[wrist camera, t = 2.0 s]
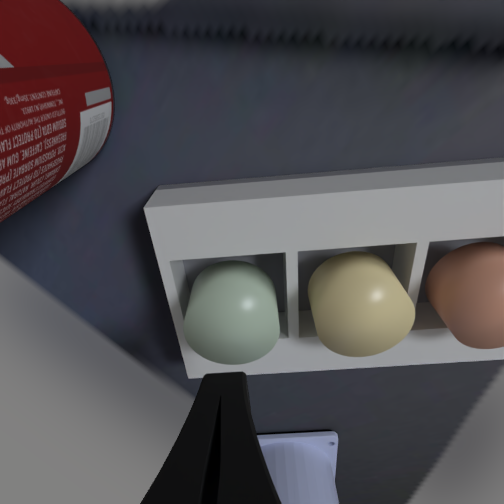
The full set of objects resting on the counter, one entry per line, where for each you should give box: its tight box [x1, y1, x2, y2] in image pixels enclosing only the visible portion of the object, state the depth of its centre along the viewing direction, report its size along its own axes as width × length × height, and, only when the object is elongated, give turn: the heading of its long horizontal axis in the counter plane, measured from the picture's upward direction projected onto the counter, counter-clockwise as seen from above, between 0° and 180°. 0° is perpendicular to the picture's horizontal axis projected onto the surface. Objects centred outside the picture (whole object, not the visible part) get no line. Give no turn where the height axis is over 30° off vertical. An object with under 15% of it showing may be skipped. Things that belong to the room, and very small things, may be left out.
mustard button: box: [308, 251, 415, 357], centre depth 15 cm, size 4×4×2 cm
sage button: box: [183, 260, 280, 365], centre depth 15 cm, size 4×4×2 cm
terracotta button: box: [425, 242, 504, 349], centre depth 15 cm, size 4×4×2 cm
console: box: [144, 157, 504, 378], centre depth 17 cm, size 10×17×3 cm, turn 95°
